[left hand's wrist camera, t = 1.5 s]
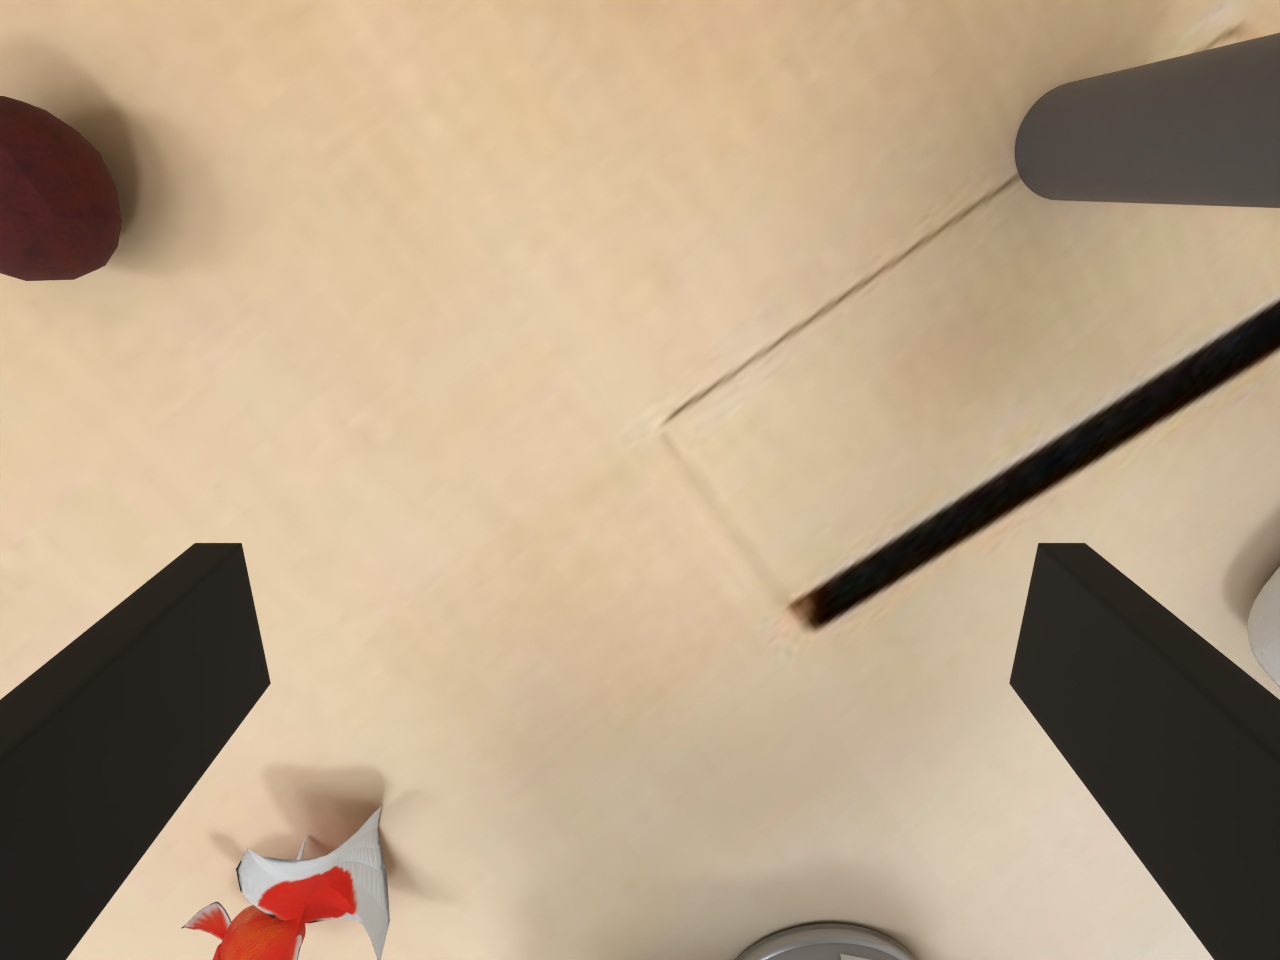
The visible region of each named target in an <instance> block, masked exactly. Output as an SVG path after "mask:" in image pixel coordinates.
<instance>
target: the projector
mask: <svg viewBox="0 0 1280 960" xmlns="http://www.w3.org/2000/svg"><path fill="white" fill-rule="evenodd" d="M1248 638H1249V642H1250V646H1251V649H1252V652H1253V654H1254V656H1255V658H1256V660H1257V662H1258V663H1259V664H1260V666H1261V667H1262V668H1263V670H1264V671H1265V672H1266V673H1267V674H1268V676H1269V677H1270V678H1271V679H1272V680H1273V681H1274V682H1275V683H1276V684H1277V685H1278V686H1279V687H1280V567H1279V568H1278V569H1277V570H1276V572H1275V573H1274V574H1273V575H1272V577H1271V578H1270V579H1269V580H1268V582H1267V583H1266V584H1265V585H1264V587H1263V588H1262V590H1261V591H1260V593H1259V595H1258V596H1257V598H1256V599H1255V601H1254V603H1253V606H1252V608H1251V611H1250V614H1249V618H1248Z"/></svg>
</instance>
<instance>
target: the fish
mask: <svg viewBox="0 0 1280 960" xmlns="http://www.w3.org/2000/svg"><path fill="white" fill-rule="evenodd" d="M381 807H382V805H381V806H380V807H379V808H378V809H377V810H376V811H375V812H374V813H373V814H372V815H371V816H370V818H369V819H368V820H367V821H366V822H365V823H364V824H363V825H362V826H361V828H360V829H359V830H358V831H357V832H356V833H355V834H354V835H353V836H351V837H350V838H349V839H348V840H347V841H345V842H344V843H343V844H342V845H340V846H339V847H337V848H336V849H335V850H333V851H332V852H331V853H329V854H328V855H326V856H322V857H317V858H313V859H309V860H302V856H303V851H304V846H305V841H306V839H304V841H303V844H302V846H301V849H300V852H299V854H298V857H297V859H296V860H282V859H275V858H269V857H262V856H260V855H258V854H256V853H254V852H252V851H251V850H249V849H247V851H246V853H245V854H244V856H243V858H242V860H241V861H240V863H239V865H238V867H237V869H236V871H237V876H238V881H239V886H240V891H241V892H242V893H243V895H244V896H245V897H246V899H247V900H248V901H249V902H251V903H252V904H253V905H251V906H249V907H247V908H245V909H244V910H243V911H242V912H240V913H239V914H238V915H237V916H236V917H235V918H234V919H233V921H232V922H231V920H230V918H229V916H228V914H227V912H226V910H225V909H224V908H223V906H222V905H221V904H220V903H219V902H215V903H212V904H210V905H209V906H207V907H205V908H203V909H202V910H200V911H199V912H198V913H197V914H196V915H195V916H194V917H193V918H192V919H191V920H190V921H189V922H188V923H187V924H186V925H184V926H183V927H185V928H189V929H193V930H194V929H199V930H201V931H204V932H208V933H211V934H212V935H214V936H216V937H218V938H219V939H221V940H223V941H222V943H221V944H220V945H218V947H217V949H216V952H215V955H214V958H213V960H298V955H299V951H300V947H301V944H302V942H303V939H304V937H305V923H313V922H318V921H323V920H329V919H334V918H340V919H347V920H358V921H359V922H360V923H361V924H362V925H363V926H364V928H365V930H366V932H367V933H368V935H369V937H370V939H371V941H372V944H373V947H374V950H375V953H376V956H377V960H381V956H382V951H383V947H384V943H385V939H386V934H387V930H388V926H389V921H390V919H389V903H388V887H387V875H386V870H385V865H384V859H383V854H382V849H381V843H380V837H379V831H378V825H379V820H380V814H381ZM183 927H182V928H183Z"/></svg>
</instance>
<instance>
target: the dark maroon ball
mask: <svg viewBox="0 0 1280 960" xmlns="http://www.w3.org/2000/svg"><path fill="white" fill-rule="evenodd" d="M121 222H122V220H121V214H120V209H119V203H118V198H117V192H116V187H115V184H114V182H113V180H112V178H111V176H110V174H109V172H108V170H107V168H106V166H105V164H104V162H103V160H102V157H101V155H100V153H99V152H98V151H97V150H96V149H95V148H94V147H93V146H92V145H91V144H90V143H89V142H88V141H87V140H86V139H85V138H84V137H83V136H82V135H81V134H80V133H79V132H78V131H76V130H75V129H73V128H72V127H70V126H69V125H67V124H66V123H64V122H62V121H61V120H59V119H58V118H56V117H55V116H53V115H52V114H50V113H49V112H47V111H46V110H43V109H41V108H38V107H35V106H33V105H30V104H27V103H25V102H22V101H19V100H15V99H12V98H8V97H5V96H0V273H2V274H5V275H8V276H12V277H15V278H18V279H22V280H25V281H40V280H73V279H76V278H78V277H81V276H83V275H85V274H88V273H90V272H92V271H95V270H97V269H99V268H101V267H103V266H105V265H106V263H107V262H108V260H109V259H110V257H111V256H112V254H113V253H114V251H115V250H116V248H117V247H118V241H119V234H120V228H121Z"/></svg>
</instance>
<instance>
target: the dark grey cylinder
mask: <svg viewBox="0 0 1280 960" xmlns="http://www.w3.org/2000/svg"><path fill="white" fill-rule="evenodd" d="M1015 159H1016V165H1017V169H1018V172H1019V174H1020V177H1021V178H1022V180H1023V182H1024V183H1025V184H1026V185H1027V187H1028V188H1030V189H1031V190H1032V191H1033V192H1034V193H1036V194H1038V195H1040V196H1042V197H1044V198H1048V199H1053V200H1071V201H1099V202H1127V203H1155V204H1183V205H1211V206H1239V207H1267V208H1280V33H1277V34H1273V35H1268V36H1264V37H1260V38H1256V39H1252V40H1247V41H1243V42H1239V43H1235V44H1231V45H1226V46H1222V47H1218V48H1214V49H1210V50H1205V51H1201V52H1197V53H1193V54H1189V55H1184V56H1180V57H1176V58H1172V59H1168V60H1163V61H1159V62H1155V63H1151V64H1147V65H1142V66H1138V67H1134V68H1130V69H1126V70H1121V71H1117V72H1113V73H1109V74H1105V75H1100V76H1096V77H1092V78H1088V79H1084V80H1079V81H1075V82H1071V83H1067V84H1064V85H1061V86H1059V87H1057V88H1055V89H1053V90H1051V91H1050V92H1048V93H1046V94H1045V95H1044V96H1043V97H1041V98H1040V99H1039V100H1038V101H1037V102H1036V103H1035V104H1034V105H1033V107H1032V108H1031V109H1030V110H1029V112H1028V113H1027V115H1026V116H1025V118H1024V120H1023V122H1022V124H1021V126H1020V129H1019V132H1018V135H1017V139H1016V145H1015Z"/></svg>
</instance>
